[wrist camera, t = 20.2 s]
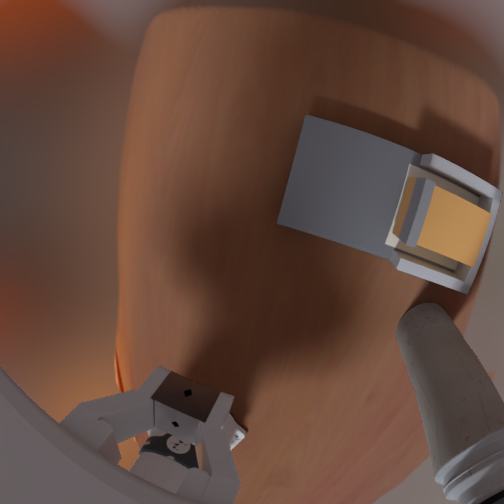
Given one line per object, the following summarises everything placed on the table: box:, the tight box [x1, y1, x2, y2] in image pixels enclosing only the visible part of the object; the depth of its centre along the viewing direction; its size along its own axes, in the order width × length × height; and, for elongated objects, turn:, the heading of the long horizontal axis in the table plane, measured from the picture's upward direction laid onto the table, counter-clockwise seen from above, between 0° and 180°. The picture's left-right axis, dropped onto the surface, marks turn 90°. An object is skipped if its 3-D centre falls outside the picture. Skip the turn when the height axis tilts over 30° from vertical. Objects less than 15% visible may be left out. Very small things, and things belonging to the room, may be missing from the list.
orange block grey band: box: [392, 177, 491, 268], centre depth 22 cm, size 6×10×6 cm, turn 76°
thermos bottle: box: [396, 303, 504, 504], centre depth 18 cm, size 8×8×28 cm
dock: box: [277, 114, 503, 294], centre depth 26 cm, size 12×23×6 cm, turn 76°
